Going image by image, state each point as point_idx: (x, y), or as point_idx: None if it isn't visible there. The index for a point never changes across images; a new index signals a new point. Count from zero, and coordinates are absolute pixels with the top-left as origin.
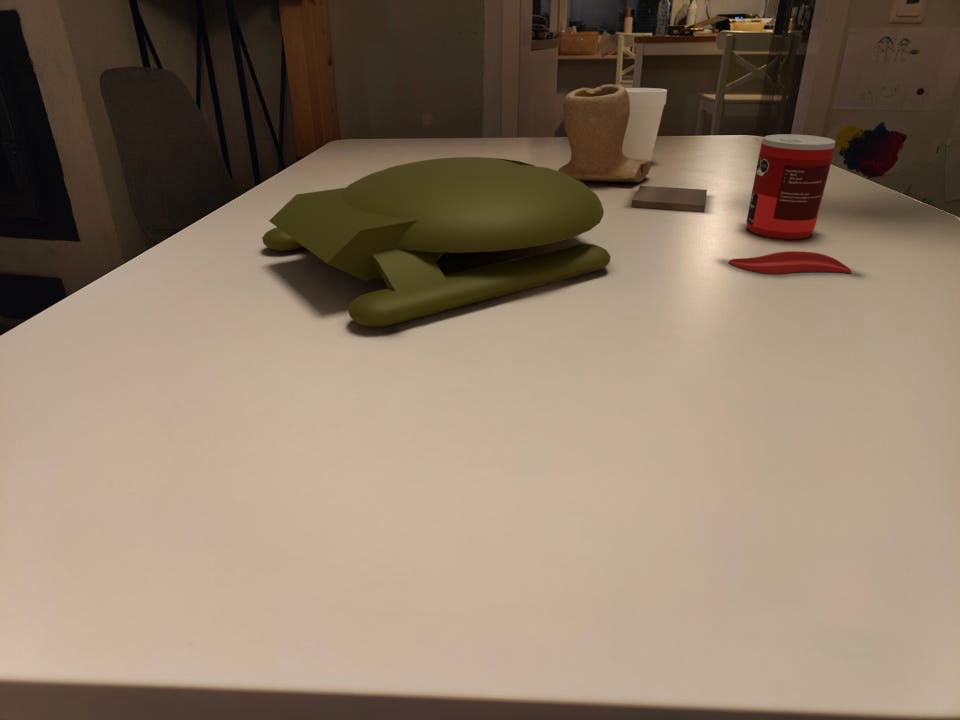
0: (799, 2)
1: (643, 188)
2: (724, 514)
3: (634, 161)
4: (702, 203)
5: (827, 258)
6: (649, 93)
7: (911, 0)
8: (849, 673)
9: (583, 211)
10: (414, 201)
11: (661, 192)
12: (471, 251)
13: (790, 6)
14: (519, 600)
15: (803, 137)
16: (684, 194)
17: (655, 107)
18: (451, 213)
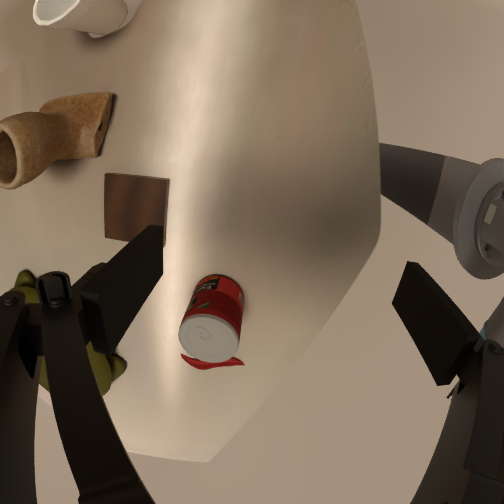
0: (159, 278)
1: (108, 187)
2: (182, 447)
3: (87, 131)
4: None
5: (231, 364)
6: (64, 17)
7: (396, 298)
8: (197, 460)
9: (105, 385)
10: None
11: (124, 202)
12: None
13: (148, 226)
14: (156, 452)
15: (216, 324)
16: (145, 207)
17: (86, 12)
18: None
